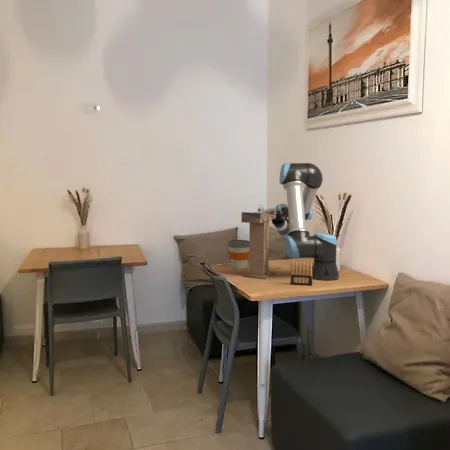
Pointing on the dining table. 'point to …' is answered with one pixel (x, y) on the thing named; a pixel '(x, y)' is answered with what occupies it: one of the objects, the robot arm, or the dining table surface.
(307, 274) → the ammunition clip
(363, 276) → the dining table surface
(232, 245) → the reusable coffee cup
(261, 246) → the stand
